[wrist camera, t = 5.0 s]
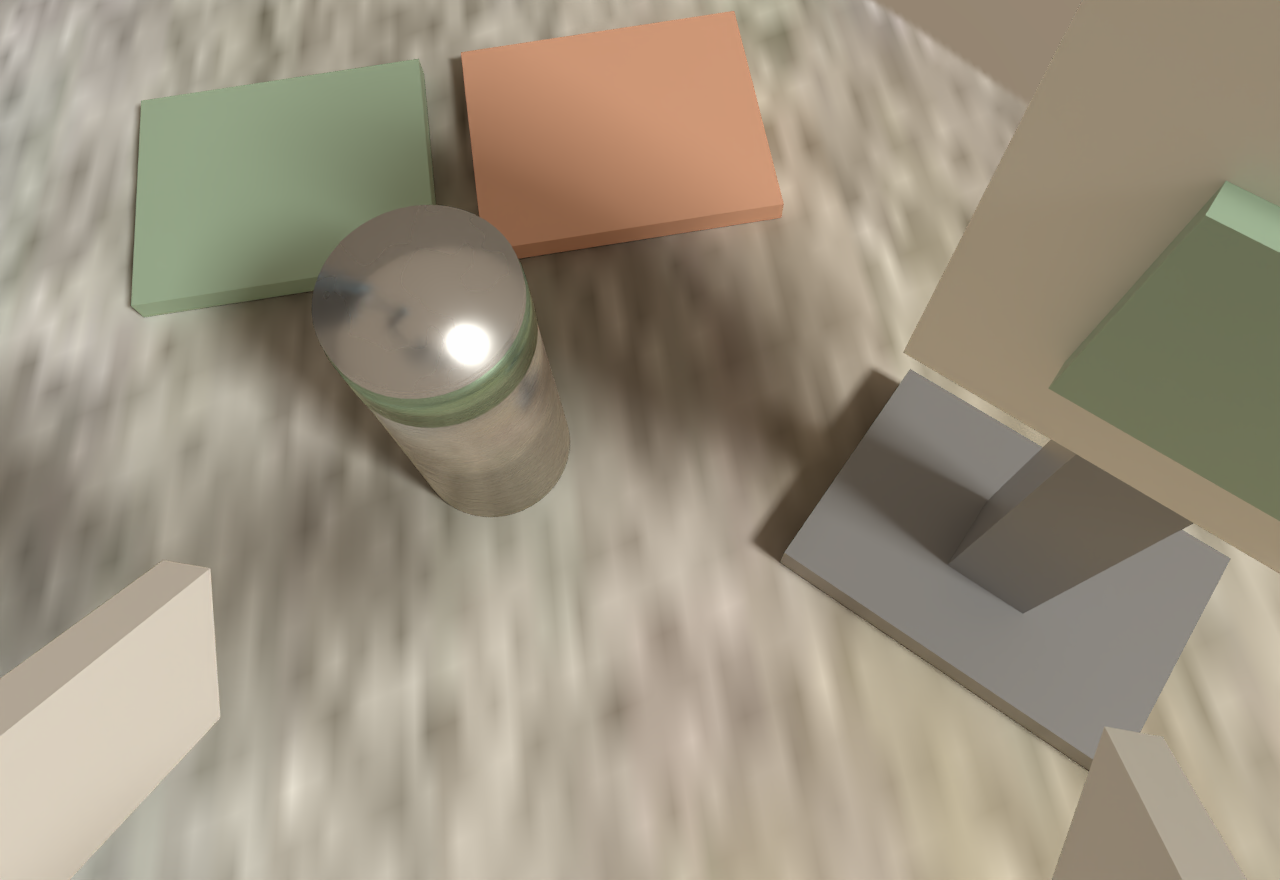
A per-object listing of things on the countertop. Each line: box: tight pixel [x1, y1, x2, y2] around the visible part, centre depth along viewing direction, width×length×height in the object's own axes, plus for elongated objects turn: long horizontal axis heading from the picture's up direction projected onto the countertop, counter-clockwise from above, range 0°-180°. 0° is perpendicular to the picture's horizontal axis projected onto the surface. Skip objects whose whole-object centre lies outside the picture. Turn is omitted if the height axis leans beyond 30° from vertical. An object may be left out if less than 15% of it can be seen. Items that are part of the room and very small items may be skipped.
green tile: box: [131, 59, 436, 317], centre depth 42 cm, size 11×13×1 cm
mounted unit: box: [780, 0, 1280, 770], centre depth 22 cm, size 9×13×28 cm
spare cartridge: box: [312, 205, 570, 517], centre depth 32 cm, size 6×6×12 cm
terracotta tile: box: [461, 11, 784, 259], centre depth 42 cm, size 11×13×1 cm
